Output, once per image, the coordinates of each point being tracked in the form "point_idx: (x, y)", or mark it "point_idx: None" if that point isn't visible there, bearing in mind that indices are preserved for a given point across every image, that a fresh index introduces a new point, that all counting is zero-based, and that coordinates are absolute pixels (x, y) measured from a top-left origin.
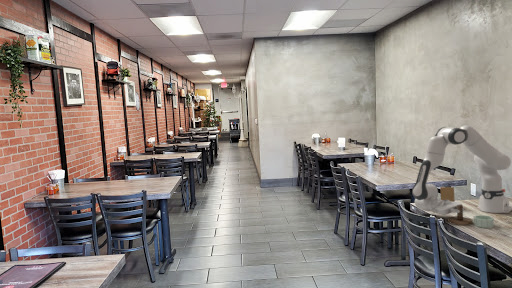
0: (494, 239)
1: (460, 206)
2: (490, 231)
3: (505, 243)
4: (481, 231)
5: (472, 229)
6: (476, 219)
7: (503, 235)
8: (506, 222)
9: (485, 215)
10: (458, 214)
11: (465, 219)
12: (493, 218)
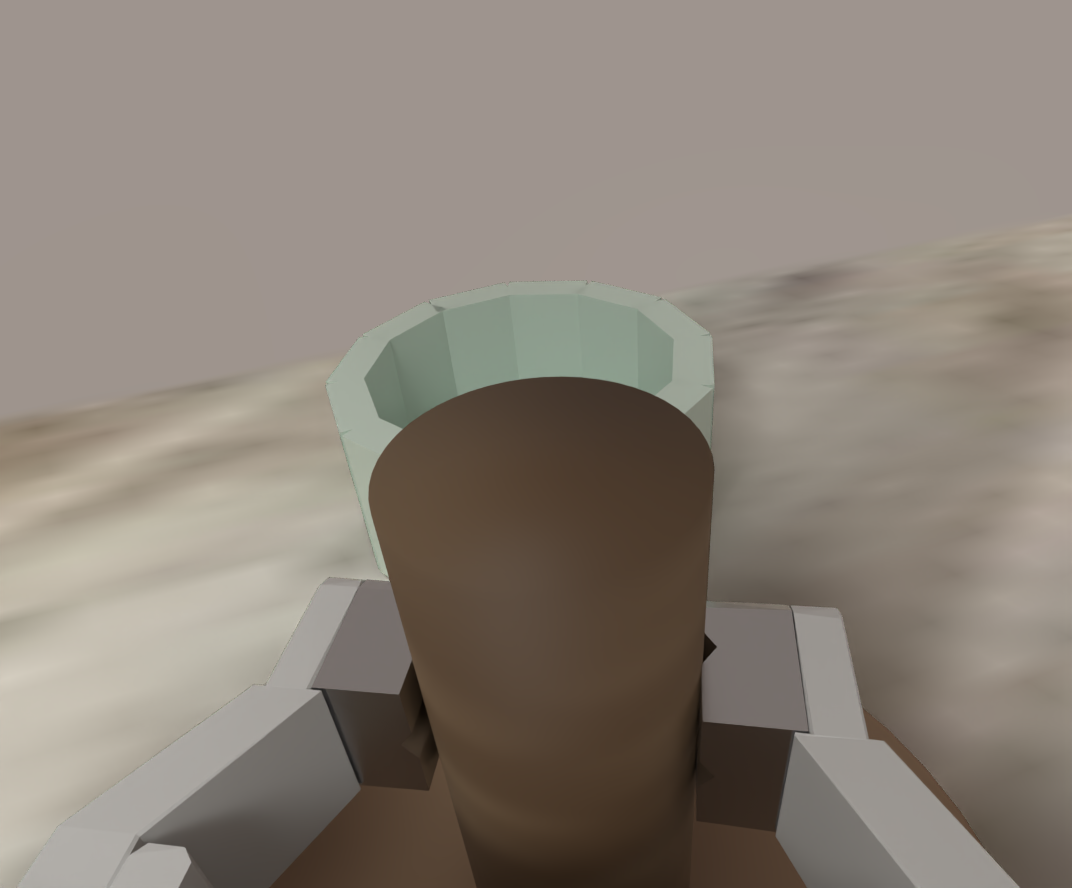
0: (1066, 278)
1: (670, 424)
2: (802, 364)
3: (1063, 224)
4: (922, 413)
5: (967, 512)
6: (712, 402)
7: (826, 280)
8: (224, 382)
9: (329, 381)
10: (690, 821)
11: (450, 797)
12: (484, 289)
